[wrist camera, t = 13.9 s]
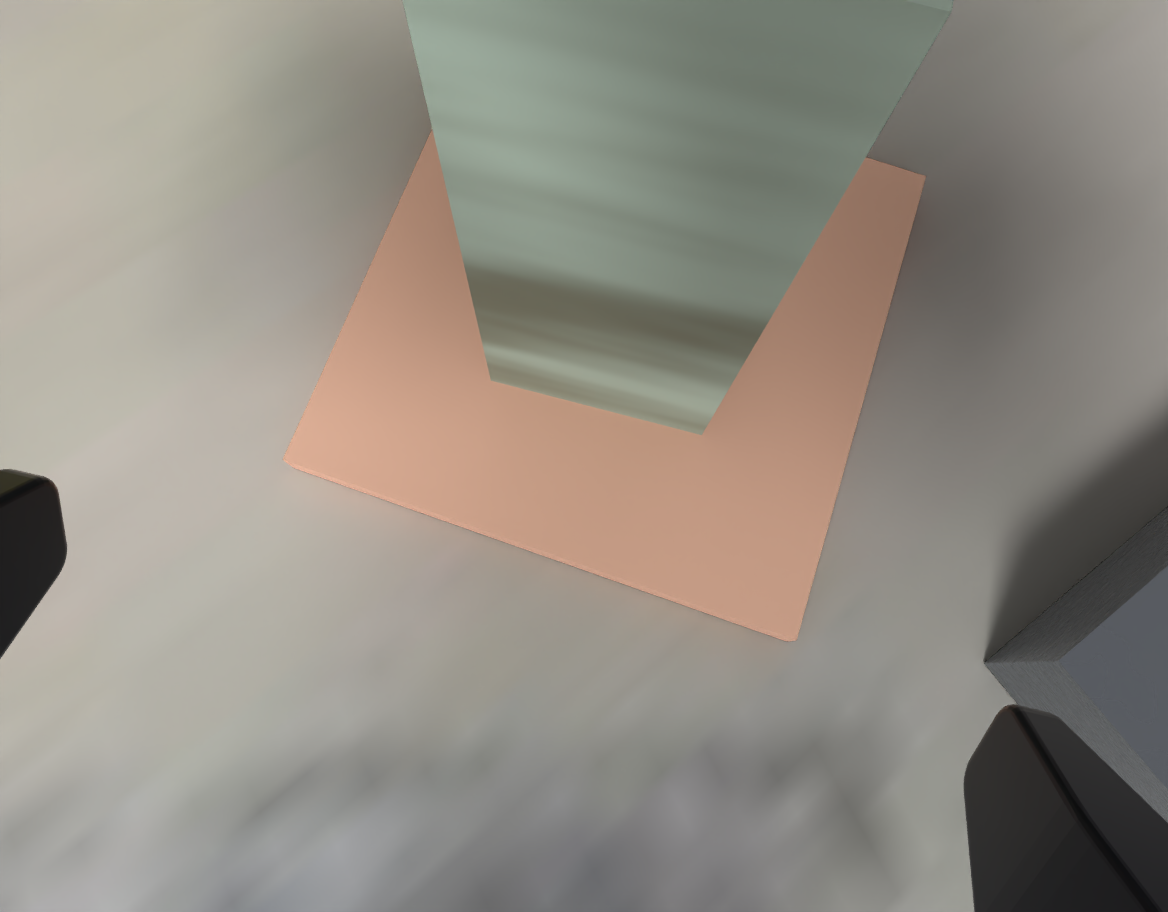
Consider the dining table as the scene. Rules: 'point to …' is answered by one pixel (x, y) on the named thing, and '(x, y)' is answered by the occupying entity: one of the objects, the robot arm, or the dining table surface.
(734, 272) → the square plug
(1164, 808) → the socket plate
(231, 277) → the dining table surface
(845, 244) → the terracotta pad
